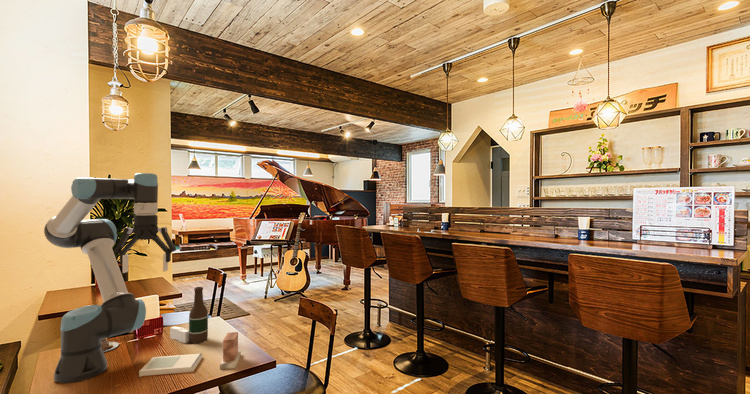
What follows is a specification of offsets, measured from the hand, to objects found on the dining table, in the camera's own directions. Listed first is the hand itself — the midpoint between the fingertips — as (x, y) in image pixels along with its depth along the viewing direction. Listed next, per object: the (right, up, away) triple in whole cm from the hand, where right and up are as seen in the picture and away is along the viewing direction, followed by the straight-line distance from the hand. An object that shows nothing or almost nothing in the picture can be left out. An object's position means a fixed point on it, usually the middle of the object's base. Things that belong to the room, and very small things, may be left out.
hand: (145, 271), depth 136 cm
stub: (+29, -36, +6) cm, 47 cm away
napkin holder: (-3, -38, +29) cm, 48 cm away
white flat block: (+9, -37, +2) cm, 38 cm away
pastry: (-31, -38, +20) cm, 53 cm away
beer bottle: (+6, -37, +28) cm, 47 cm away
